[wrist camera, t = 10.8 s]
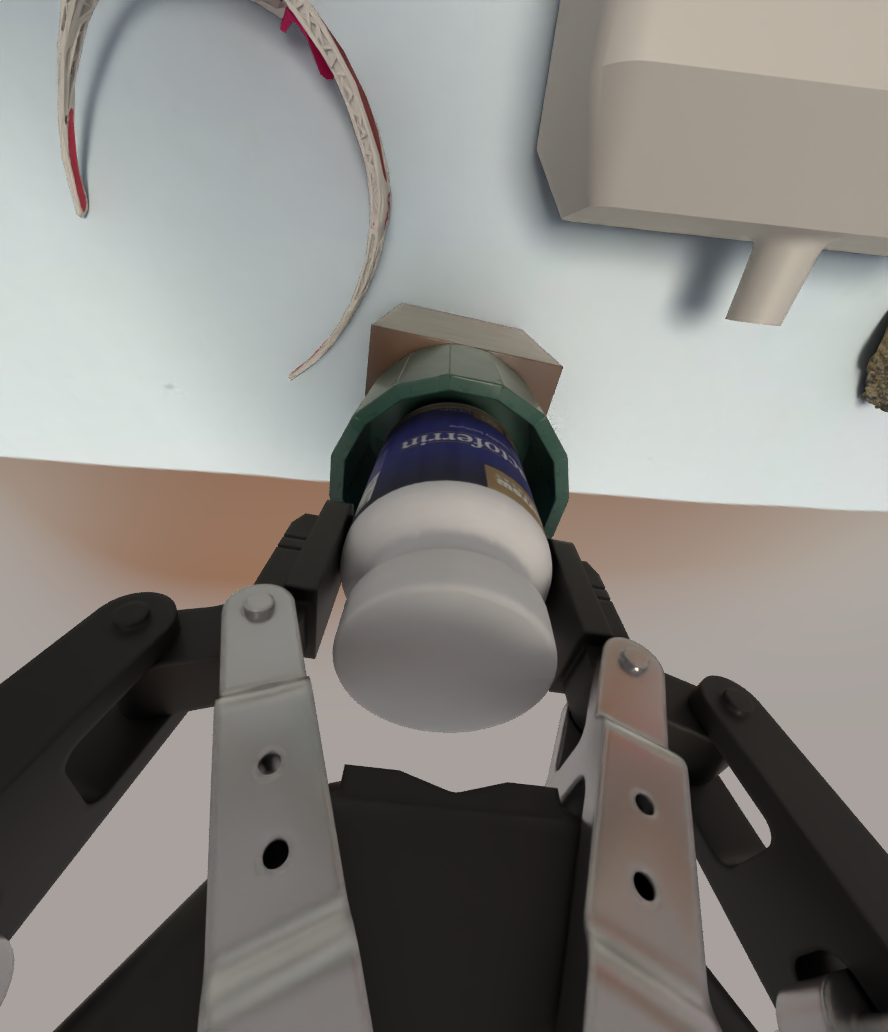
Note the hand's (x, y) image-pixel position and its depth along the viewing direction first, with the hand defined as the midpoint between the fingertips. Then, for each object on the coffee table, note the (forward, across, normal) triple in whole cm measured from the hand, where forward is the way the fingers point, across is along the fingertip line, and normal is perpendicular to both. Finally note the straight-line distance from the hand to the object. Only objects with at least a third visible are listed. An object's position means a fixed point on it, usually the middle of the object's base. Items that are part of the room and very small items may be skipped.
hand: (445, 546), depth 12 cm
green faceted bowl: (+9, 0, 0) cm, 9 cm away
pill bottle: (+6, 0, 0) cm, 6 cm away
